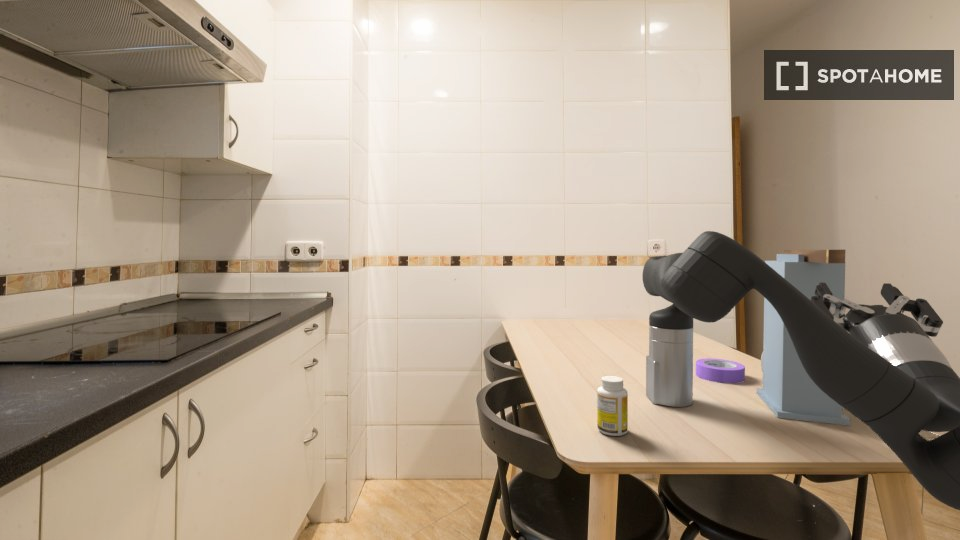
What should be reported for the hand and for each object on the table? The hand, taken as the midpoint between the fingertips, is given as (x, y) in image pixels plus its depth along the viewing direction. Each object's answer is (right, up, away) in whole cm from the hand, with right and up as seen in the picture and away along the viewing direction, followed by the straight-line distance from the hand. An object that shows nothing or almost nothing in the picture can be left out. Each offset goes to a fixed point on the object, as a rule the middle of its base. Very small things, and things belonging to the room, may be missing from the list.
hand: (851, 287), depth 70 cm
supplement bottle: (-36, -28, +11) cm, 47 cm away
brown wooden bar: (+6, +5, +16) cm, 18 cm away
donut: (+14, -27, +39) cm, 49 cm away
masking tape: (+4, -27, +46) cm, 53 cm away
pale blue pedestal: (+8, -27, +22) cm, 36 cm away
